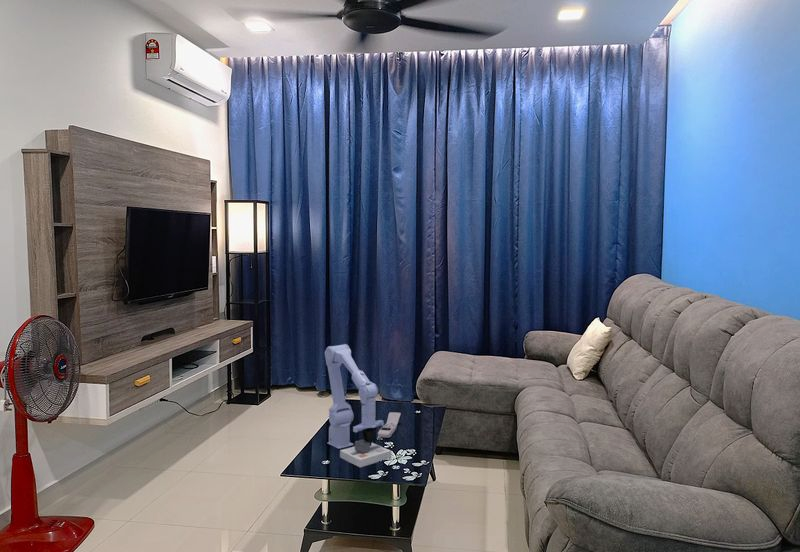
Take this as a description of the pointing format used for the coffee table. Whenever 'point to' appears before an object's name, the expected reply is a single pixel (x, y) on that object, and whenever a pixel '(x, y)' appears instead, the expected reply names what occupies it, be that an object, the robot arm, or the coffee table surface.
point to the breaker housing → (365, 455)
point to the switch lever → (362, 446)
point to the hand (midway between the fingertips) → (368, 445)
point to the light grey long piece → (389, 425)
